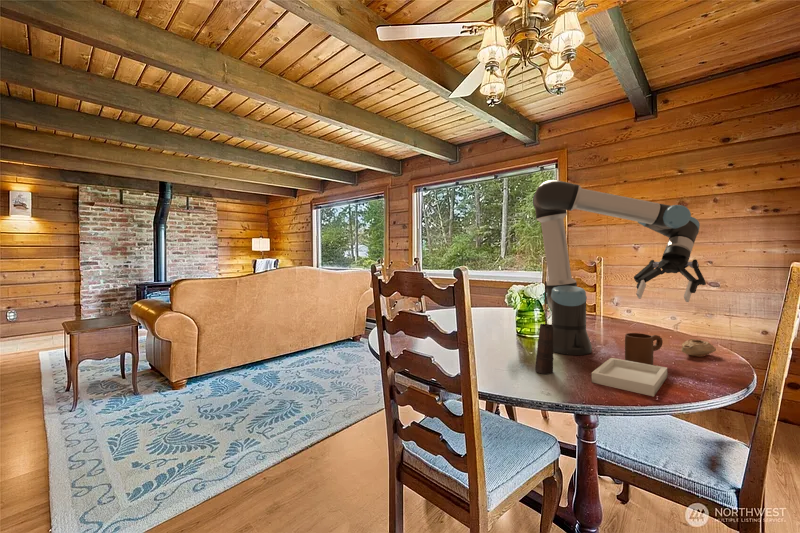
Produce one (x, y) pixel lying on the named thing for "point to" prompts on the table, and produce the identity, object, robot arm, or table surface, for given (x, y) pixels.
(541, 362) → the butter churn
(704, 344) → the pottery oil lamp
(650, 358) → the mug
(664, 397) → the table surface
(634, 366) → the tray
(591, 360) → the table surface
